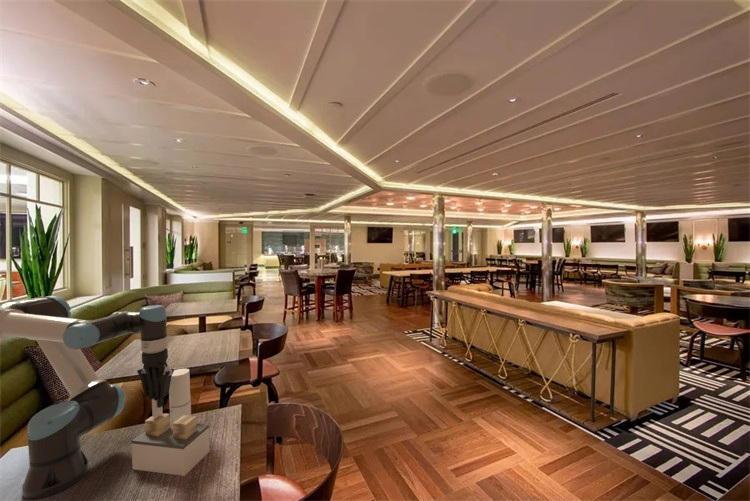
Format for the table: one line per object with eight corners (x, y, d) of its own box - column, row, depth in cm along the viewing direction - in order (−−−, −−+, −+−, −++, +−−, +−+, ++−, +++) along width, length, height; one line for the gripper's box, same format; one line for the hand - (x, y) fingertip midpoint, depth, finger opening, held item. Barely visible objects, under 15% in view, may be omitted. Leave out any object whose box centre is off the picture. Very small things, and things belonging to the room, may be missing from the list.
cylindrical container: (181, 439, 121) (179, 376, 120) (166, 437, 123) (163, 375, 122) (195, 428, 128) (193, 369, 127) (181, 427, 130) (178, 367, 129)
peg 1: (146, 443, 109) (145, 420, 108) (158, 434, 114) (157, 412, 113) (158, 444, 108) (157, 421, 107) (170, 435, 113) (169, 413, 112)
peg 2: (173, 446, 107) (172, 423, 106) (184, 437, 112) (183, 415, 111) (186, 447, 106) (185, 424, 106) (197, 438, 111) (196, 416, 111)
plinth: (132, 469, 106) (131, 440, 105) (162, 446, 118) (161, 420, 117) (184, 476, 102) (183, 446, 102) (209, 451, 114) (208, 424, 114)
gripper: (128, 353, 107) (132, 420, 108) (161, 354, 105) (164, 423, 106) (148, 345, 114) (151, 408, 115) (179, 347, 112) (182, 411, 113)
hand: (157, 415), depth 110 cm, fingers closed
